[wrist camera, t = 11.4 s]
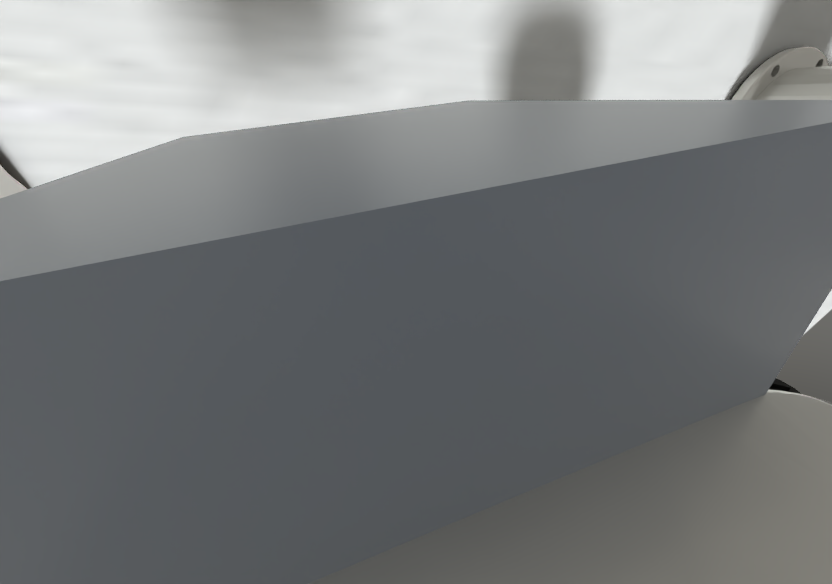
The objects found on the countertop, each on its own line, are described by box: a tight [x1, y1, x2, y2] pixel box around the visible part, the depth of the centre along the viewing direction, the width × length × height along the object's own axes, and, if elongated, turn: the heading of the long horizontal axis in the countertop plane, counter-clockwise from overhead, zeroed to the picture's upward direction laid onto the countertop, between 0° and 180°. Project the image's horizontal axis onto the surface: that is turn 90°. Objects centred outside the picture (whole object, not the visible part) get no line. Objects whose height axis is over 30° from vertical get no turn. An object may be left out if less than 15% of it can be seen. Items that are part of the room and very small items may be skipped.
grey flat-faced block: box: [0, 100, 832, 584], centre depth 9 cm, size 8×12×9 cm, turn 6°
